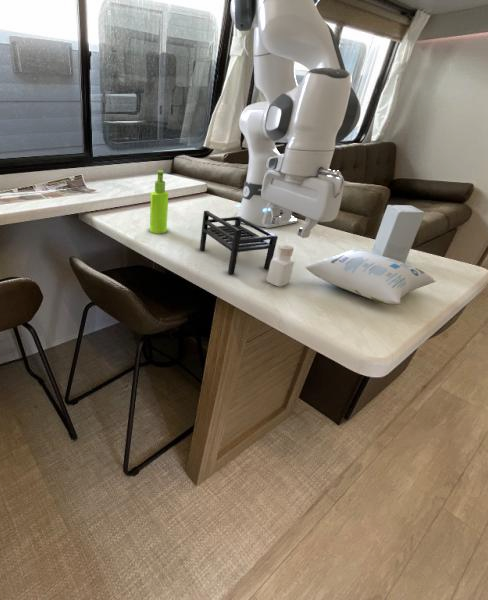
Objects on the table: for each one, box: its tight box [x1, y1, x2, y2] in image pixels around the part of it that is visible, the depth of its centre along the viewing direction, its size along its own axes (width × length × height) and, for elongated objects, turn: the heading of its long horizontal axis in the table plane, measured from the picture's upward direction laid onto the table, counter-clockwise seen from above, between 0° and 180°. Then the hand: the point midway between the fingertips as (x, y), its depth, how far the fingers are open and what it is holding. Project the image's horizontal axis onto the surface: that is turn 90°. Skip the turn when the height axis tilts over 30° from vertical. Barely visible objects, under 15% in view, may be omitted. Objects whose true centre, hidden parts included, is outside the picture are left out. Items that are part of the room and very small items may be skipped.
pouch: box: [304, 249, 437, 305], centre depth 75 cm, size 8×19×20 cm
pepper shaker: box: [266, 244, 295, 288], centre depth 78 cm, size 4×4×10 cm
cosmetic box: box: [370, 204, 426, 264], centre depth 87 cm, size 8×6×15 cm
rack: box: [199, 210, 279, 276], centre depth 90 cm, size 12×18×12 cm, turn 15°
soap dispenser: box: [149, 169, 169, 234], centre depth 110 cm, size 6×7×20 cm
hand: (288, 229), depth 73 cm, fingers open, 8 cm apart
